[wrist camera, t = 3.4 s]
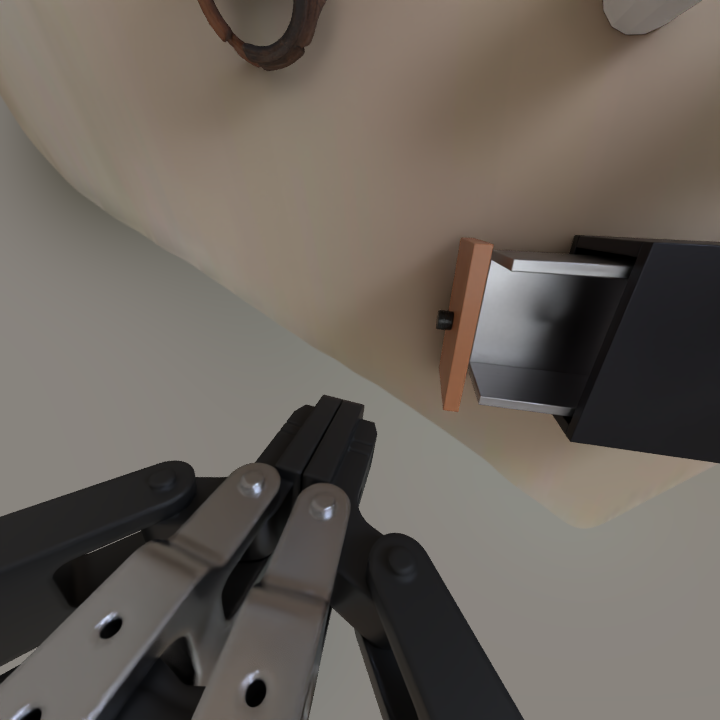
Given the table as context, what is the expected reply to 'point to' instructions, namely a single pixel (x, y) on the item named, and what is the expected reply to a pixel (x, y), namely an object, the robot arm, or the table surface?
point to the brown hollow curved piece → (280, 52)
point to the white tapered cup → (643, 13)
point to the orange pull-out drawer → (526, 325)
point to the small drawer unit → (656, 353)
